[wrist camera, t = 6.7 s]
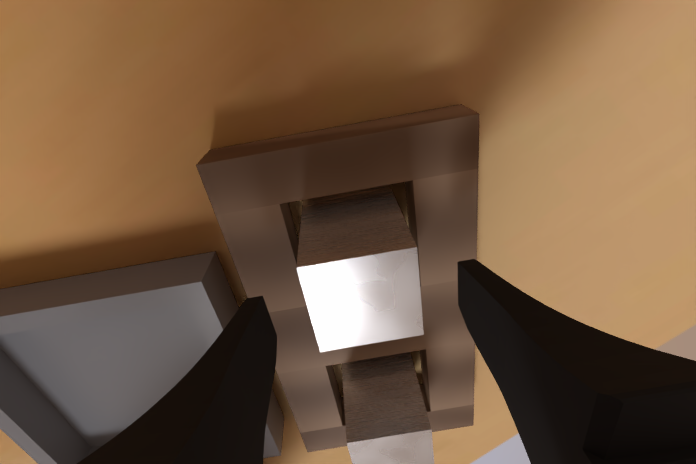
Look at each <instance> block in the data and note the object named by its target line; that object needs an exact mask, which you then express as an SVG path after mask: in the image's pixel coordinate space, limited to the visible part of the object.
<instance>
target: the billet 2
mask: <svg viewBox="0 0 696 464" xmlns="http://www.w3.org/2000/svg"><path fill="white" fill-rule="evenodd" d="M342 378H343V394H344V409H345V425H346V440H347V446H348V450H349V453H350V457H351V460H352V464H434V455H433V442H432V429H431V426H430V422H429V419H428V415H427V411H426V408H425V404H424V401H423V397H422V393H421V390H420V386H419V383H418V379H417V375H416V372H415V368H414V365H413V361H412V357H411V354H410V352H406V353H400V354H394V355H388V356H383V357H377V358H371V359H365V360H359V361H353V362H347V363H342Z"/></svg>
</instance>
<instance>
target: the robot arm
mask: <svg viewBox="0 0 696 464" xmlns="http://www.w3.org/2000/svg"><path fill="white" fill-rule="evenodd" d="M457 264H458V306H459V308H460V311H461V314H462V316H463V319H464V321H465V324H466V326H467V329H468V331H469V333H470V335H471V336H472V338H473V340H474V342H475V344H476V346H477V347H478V349H479V351H480V353H481V355H482V357H483V358H484V360H485V362H486V364H487V366H488V367H489V369H490V371H491V373H492V375H493V377H494V378H495V380H496V382H497V384H498V386H499V388H500V390H501V392H502V394H503V396H504V399H505V401H506V404H507V406H508V408H509V411H510V413H511V415H512V418H513V420H514V422H515V425H516V427H517V430H518V432H519V435H520V437H521V440H522V442H523V444H524V447H525V449H526V452H527V454H528V457H529V460H530V462H531V464H696V361H694V360H690V359H686V358H683V357H679V356H676V355H672V354H668V353H665V352H661V351H657V350H654V349H651V348H648V347H645V346H642V345H639V344H636V343H633V342H630V341H627V340H624V339H621V338H618V337H615V336H613V335H610V334H607V333H605V332H602V331H600V330H598V329H595V328H593V327H590V326H588V325H585V324H583V323H581V322H579V321H576V320H574V319H572V318H570V317H568V316H566V315H564V314H562V313H560V312H558V311H556V310H554V309H552V308H550V307H548V306H546V305H544V304H543V303H541V302H539V301H537V300H536V299H534V298H532V297H531V296H529V295H527V294H526V293H524V292H522V291H521V290H519V289H518V288H516V287H514V286H513V285H511V284H510V283H508V282H507V281H505V280H504V279H502V278H501V277H500V276H498V275H497V274H495V273H494V272H492V271H491V270H489V269H488V268H487V267H485V266H484V265H482V264H481V263H480V262H478V261H477V260H475V259H470V260H464V261H459V262H457ZM276 356H277V334H276V331H275V328H274V326H273V323H272V320H271V317H270V315H269V312H268V309H267V306H266V303H265V301H264V298H263V296H257V297H252V298H246V300H245V301H244V302H243V304H242V305H241V306H240V308H239V309H238V311H237V312H236V313H235V315H234V316H233V317H232V319H231V320H230V322H229V323H228V324H227V326H226V327H225V328H224V330H223V331H222V332H221V334H220V335H219V336H218V338H217V339H216V340H215V342H214V343H213V344H212V345H211V346H210V348H209V349H208V350H207V351H206V352H205V354H204V355H203V356H202V357H201V358H200V360H199V361H198V362H197V363H196V364H195V365H194V367H193V368H192V369H191V370H190V371H189V372H188V373H187V374H186V375H185V376H184V377H183V378H182V379H181V380H180V381H179V382H178V383H177V384H176V385H175V386H174V387H173V388H172V389H171V390H170V391H169V392H168V393H167V394H166V395H164V396H163V397H162V398H161V399H160V400H159V401H158V402H157V403H156V404H155V405H153V406H152V407H151V408H150V409H149V410H148V411H147V412H145V413H144V414H143V415H142V416H141V417H139V418H138V419H137V420H136V421H135V422H133V423H132V424H131V425H129V426H128V427H127V428H126V429H124V430H123V431H122V432H120V433H119V434H118V435H117V436H115V437H114V438H113V439H111V440H110V441H109V442H107V443H106V444H104V445H103V446H101V447H100V448H99V449H97V450H96V451H94V452H93V453H91V454H90V455H89V456H87V457H86V458H84V459H83V460H81V461H80V462H78V463H77V464H263V455H264V439H265V429H266V421H267V415H268V409H269V403H270V397H271V391H272V385H273V379H274V373H275V366H276Z"/></svg>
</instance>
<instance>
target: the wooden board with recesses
mask: <svg viewBox="0 0 696 464" xmlns="http://www.w3.org/2000/svg"><path fill="white" fill-rule="evenodd" d="M478 158H479V114H478V113H477V112H475V111H473V110H471V109H469V108H467V107H465V106H464V105H462V104H461V105H455V106H450V107H444V108H438V109H433V110H427V111H422V112H416V113H411V114H405V115H400V116H394V117H389V118H383V119H378V120H372V121H367V122H361V123H356V124H350V125H345V126H339V127H334V128H328V129H323V130H317V131H312V132H306V133H301V134H295V135H290V136H284V137H279V138H273V139H268V140H262V141H257V142H251V143H246V144H240V145H235V146H229V147H224V148H218V149H213V150H209V151H208V153H207V154H206V155H205V156H204V157H203V158H202V159H201V160H200V161H199V163H198V164H197V165H196V166H197V169H198V171H199V174H200V177H201V179H202V182H203V184H204V187H205V189H206V192H207V195H208V197H209V200H210V202H211V205H212V207H213V210H214V213H215V215H216V218H217V220H218V223H219V225H220V228H221V231H222V233H223V236H224V238H225V241H226V243H227V246H228V249H229V251H230V254H231V256H232V259H233V261H234V264H235V267H236V269H237V272H238V274H239V277H240V279H241V282H242V284H243V287H244V290H245V292H246V295H247V297H248V298H252V297H257V296H263V298H264V301H265V303H266V306H267V309H268V312H269V315H270V317H271V320H272V323H273V326H274V328H275V331H276V334H277V356H276V366H275V369H276V372H277V374H278V377H279V380H280V382H281V385H282V387H283V390H284V392H285V395H286V398H287V400H288V403H289V405H290V408H291V410H292V413H293V416H294V418H295V421H296V423H297V426H298V428H299V431H300V434H301V436H302V439H303V441H304V444H305V446H306V449H307V452H312V451H318V450H325V449H331V448H337V447H343V446H347V440H346V425H345V409H344V397H342V398H341V396H340V392H339V389H338V385H337V381H336V378H335V374H334V370H333V367H332V365H335V364H341V363H347V362H353V361H359V360H365V359H371V358H377V357H383V356H388V355H394V354H400V353H406V352H412V351H418V350H420V357H421V368H422V380H423V384H420V385H419V386H420V390H421V393H422V397H423V401H424V404H425V408H426V411H427V415H428V419H429V422H430V426H431V429H432V432H435V431H441V430H447V429H454V428H460V427H466V426H472V425H473V417H474V365H475V342H474V340H473V338H472V336H471V335H470V333H469V331H468V329H467V326H466V324H465V321H464V319H463V316H462V314H461V311H460V308H459V306H458V264H457V262H459V261H464V260H470V259H475V260H477V210H478ZM400 182H405V189H406V200H407V211H408V223H409V230H410V232H411V235H412V237H413V239H414V241H415V244H416V246H417V253H418V266H419V279H420V292H421V304H422V317H423V330H424V335H420V336H414V337H408V338H402V339H396V340H390V341H384V342H378V343H372V344H366V345H360V346H354V347H348V348H342V349H336V350H330V351H324V352H320V349H319V346H318V342H317V339H316V335H315V332H314V328H313V325H312V321H311V318H310V314H309V311H308V307H307V304H306V300H305V297H304V293H303V290H302V286H301V283H300V279H299V276H298V272H297V269H296V266H297V256H298V246H299V241H298V237H297V234H296V230H295V226H294V222H293V219H292V215H291V211H290V208H289V204H288V202H293V201H299V200H304V199H310V198H316V197H321V196H327V195H333V194H338V193H344V192H349V191H355V190H361V189H366V188H372V187H378V186H383V185H389V184H395V183H400Z"/></svg>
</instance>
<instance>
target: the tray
mask: <svg viewBox="0 0 696 464" xmlns="http://www.w3.org/2000/svg"><path fill="white" fill-rule="evenodd" d="M238 309H239V307H238V305H237V303H236V300H235V298H234V295H233V293H232V290H231V288H230V286H229V283H228V281H227V278H226V276H225V273H224V271H223V269H222V266H221V264H220V261H219V259H218V256H217V254H216V252H209V253H204V254H198V255H192V256H186V257H181V258H175V259H169V260H164V261H158V262H152V263H147V264H141V265H135V266H129V267H124V268H118V269H112V270H107V271H101V272H95V273H90V274H84V275H78V276H72V277H67V278H61V279H55V280H50V281H44V282H38V283H33V284H27V285H21V286H15V287H10V288H4V289H0V429H1V430H2V431H3V432H4V433H6V434H7V435H8V436H9V437H10V438H11V439H12V440H13V441H14V442H15V443H16V444H17V445H19V446H20V447H21V448H22V449H23V450H24V451H25V452H26V453H27V454H28V455H29V456H31V457H32V458H33V459H34V460H35V461H36V462H37V463H38V464H77V463H78V462H80V461H81V460H83V459H84V458H86V457H87V456H89V455H90V454H91V453H93V452H94V451H96V450H97V449H99V448H100V447H101V446H103V445H104V444H106V443H107V442H109V441H110V440H111V439H113V438H114V437H115V436H117V435H118V434H119V433H120V432H122V431H123V430H124V429H126V428H127V427H128V426H129V425H131V424H132V423H133V422H135V421H136V420H137V419H138V418H139V417H141V416H142V415H143V414H144V413H145V412H147V411H148V410H149V409H150V408H151V407H152V406H153V405H155V404H156V403H157V402H158V401H159V400H160V399H161V398H162V397H163V396H164V395H166V394H167V393H168V392H169V391H170V390H171V389H172V388H173V387H174V386H175V385H176V384H177V383H178V382H179V381H180V380H181V379H182V378H183V377H184V376H185V375H186V374H187V373H188V372H189V371H190V370H191V369H192V368H193V367H194V365H195V364H196V363H197V362H198V361H199V360H200V358H201V357H202V356H203V355H204V354H205V352H206V351H207V350H208V349H209V348H210V346H211V345H212V344H213V343H214V342H215V340H216V339H217V338H218V336H219V335H220V334H221V332H222V331H223V330H224V328H225V327H226V326H227V324H228V323H229V322H230V320H231V319H232V317H233V316H234V315H235V313H236V312H237V311H238ZM283 427H284V416H283V414H282V412H281V409H280V407H279V404H278V402H277V399H276V397H275V395H274V392H273V390H272V391H271V397H270V403H269V409H268V415H267V421H266V429H265V439H264V455H263V458H268V457H274V456H280V455H281V449H282V438H283Z"/></svg>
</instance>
